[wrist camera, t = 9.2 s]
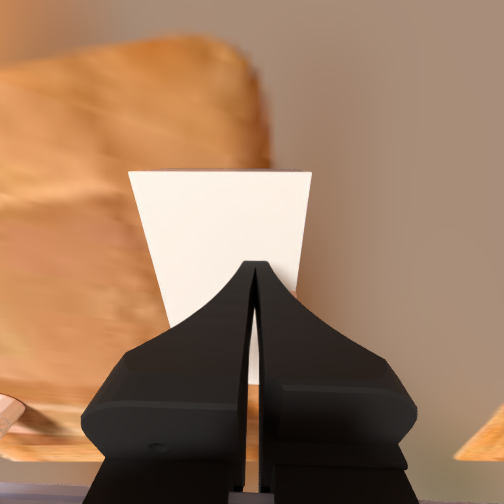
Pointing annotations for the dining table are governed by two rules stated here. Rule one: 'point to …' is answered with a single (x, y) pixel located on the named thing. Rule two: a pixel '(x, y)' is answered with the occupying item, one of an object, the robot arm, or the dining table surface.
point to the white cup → (9, 413)
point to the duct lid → (220, 232)
